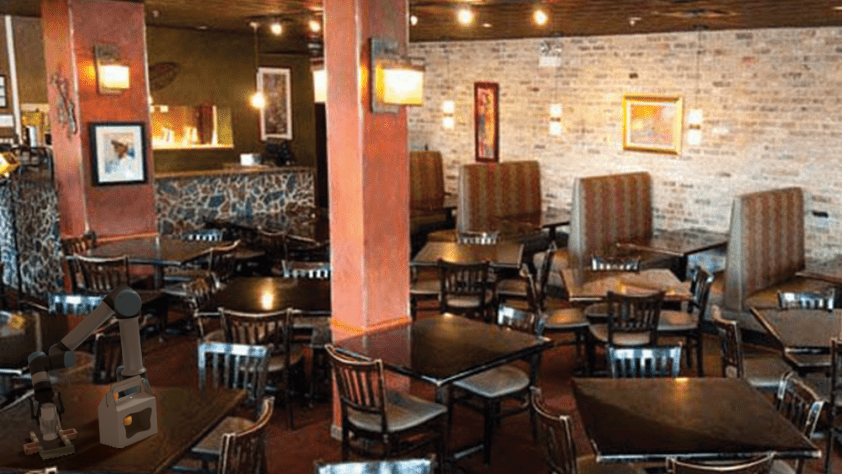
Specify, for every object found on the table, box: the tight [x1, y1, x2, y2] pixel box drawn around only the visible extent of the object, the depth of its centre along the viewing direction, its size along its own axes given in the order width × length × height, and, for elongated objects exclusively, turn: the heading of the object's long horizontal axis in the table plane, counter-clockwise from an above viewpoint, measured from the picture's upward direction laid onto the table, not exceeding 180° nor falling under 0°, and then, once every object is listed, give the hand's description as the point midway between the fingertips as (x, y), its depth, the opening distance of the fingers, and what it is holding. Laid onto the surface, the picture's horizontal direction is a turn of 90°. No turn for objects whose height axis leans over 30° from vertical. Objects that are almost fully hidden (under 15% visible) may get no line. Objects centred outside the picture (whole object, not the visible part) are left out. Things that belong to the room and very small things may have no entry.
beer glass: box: [39, 402, 59, 442], centre depth 370 cm, size 7×7×15 cm
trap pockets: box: [22, 427, 79, 456], centre depth 378 cm, size 14×23×2 cm, turn 124°
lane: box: [29, 425, 76, 461], centre depth 376 cm, size 31×13×4 cm, turn 34°
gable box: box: [97, 375, 158, 449], centre depth 382 cm, size 22×13×28 cm, turn 149°
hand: (51, 430), depth 367 cm, fingers closed on beer glass, 6 cm apart
